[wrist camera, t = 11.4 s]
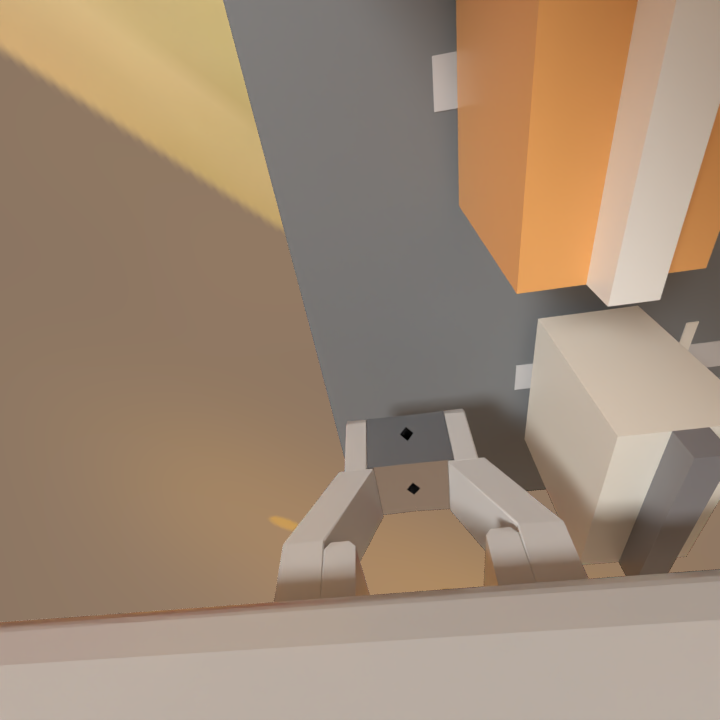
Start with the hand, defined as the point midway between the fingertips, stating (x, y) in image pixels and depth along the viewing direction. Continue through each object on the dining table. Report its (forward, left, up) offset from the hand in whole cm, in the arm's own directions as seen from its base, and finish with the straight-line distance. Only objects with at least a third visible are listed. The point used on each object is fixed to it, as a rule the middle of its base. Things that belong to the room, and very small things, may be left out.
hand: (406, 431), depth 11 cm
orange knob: (-3, -7, -1) cm, 8 cm away
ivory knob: (-5, 0, -1) cm, 5 cm away
